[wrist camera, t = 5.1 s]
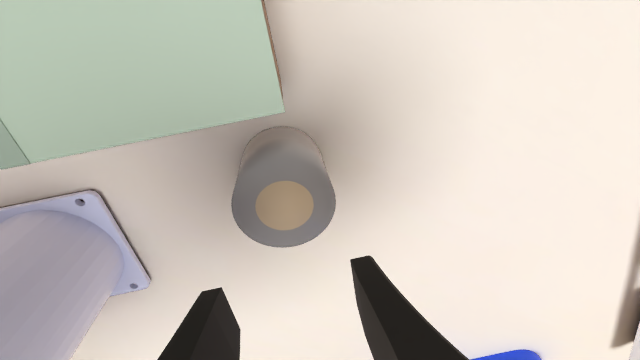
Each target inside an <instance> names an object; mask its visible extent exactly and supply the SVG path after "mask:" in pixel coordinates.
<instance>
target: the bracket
mask: <svg viewBox="0 0 640 360" xmlns="http://www.w3.org/2000/svg"><path fill="white" fill-rule="evenodd" d="M471 360H541V358H540V357H539V356H538V355H537V354H536V353H535V352H533V351H530V350H514V351H509V352H504V353H499V354H495V355H490V356H485V357H481V358H476V359H471Z"/></svg>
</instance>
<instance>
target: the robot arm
mask: <svg viewBox="0 0 640 360" xmlns="http://www.w3.org/2000/svg"><path fill="white" fill-rule="evenodd" d="M79 199H82V200H84V201H85V203H83V202H81V201H80V200H79ZM350 261H351V267H352V274H353V281H354V288H355V295H356V301H357V306H358V310H359V314H360V318H361V321H362V325H363V329H364V333H365V336H366V339H367V342H368V344H369V347H370V350H371V353H372V355H373V358H374V360H469V359H468V358H467V357H465V356H464V355H463V354H462V353H461V352H460V351H459V350H457V349H456V348H455V347H454V346H453V345H452V344H451V343H450V342H449V341H448V340H447V339H445V338H444V337H443V336H442V335H441V334H440V333H439V332H438V331H437V330H436V329H435V328H434V327H433V326H432V325H431V324H430V323H429V322H428V321H427V320H426V319H425V318H424V317H423V316H422V315H421V314H420V313H419V312H418V311H417V310H416V309H415V308H414V307H413V306H412V305H411V304H410V302H409V301H408V300H407V299H406V298H405V297H404V296H403V295H402V294H401V293H400V292H399V290H398V289H397V288H396V287H395V286H394V285H393V283H392V282H391V281H390V280H389V279H388V277H387V276H386V275H385V274H384V272H383V271H382V270H381V269H380V267H379V266H378V264H377V263H376V262H375V260H374V259H373V258H372V257H371V256H365V257H360V258H355V259H351V260H350ZM150 282H151V281H150V278H149V277H148V275H147V273H146V272H145V270H144V268H143V267H142V265H141V263H140V262H139V260H138V258H137V257H136V255H135V253H134V252H133V250H132V248H131V247H130V245H129V243H128V242H127V240H126V238H125V236H124V235H123V233H122V231H121V230H120V228H119V226H118V225H117V223H116V221H115V220H114V218H113V216H112V215H111V213H110V211H109V210H108V208H107V206H106V205H105V203H104V201H103V200H102V198H101V196H100V195H99V194H98V193H97V192H95V191H91V190H89V191H83V192H78V193H73V194H68V195H63V196H58V197H53V198H48V199H43V200H38V201H33V202H28V203H23V204H18V205H13V206H8V207H3V208H0V360H70V359H71V357H72V355H73V354H74V352H75V351H76V349H77V347H78V346H79V344H80V342H81V341H82V339H83V338H84V336H85V334H86V333H87V331H88V330H89V328H90V326H91V325H92V323H93V322H94V320H95V318H96V317H97V315H98V313H99V312H100V310H101V309H102V307H103V305H104V304H105V302H106V301H107V299H108V297H110V296H114V295H119V294H124V293H128V292H133V291H137V290H142V289H146V288H147V287H148V286H149V284H150ZM133 283H135V284H133ZM136 284H137V285H136ZM239 357H240V328H239V325H238V323H237V321H236V319H235V316H234V314H233V312H232V310H231V308H230V305H229V303H228V301H227V299H226V296H225V294H224V292H223V290H222V287H221V288H216V289H212V290H207V291H202V292H201V294H200V295H199V297H198V298H197V300H196V301H195V303H194V304H193V306H192V308H191V309H190V311H189V312H188V314H187V315H186V317H185V318H184V320H183V322H182V323H181V325H180V326H179V328H178V329H177V331H176V332H175V334H174V336H173V337H172V339H171V340H170V342H169V343H168V345H167V346H166V348H165V349H164V351H163V352H162V354H161V355H160V357H159V358H158V360H239Z"/></svg>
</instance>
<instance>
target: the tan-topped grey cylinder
mask: <svg viewBox="0 0 640 360" xmlns="http://www.w3.org/2000/svg"><path fill="white" fill-rule="evenodd" d="M335 205H336V199H335V193H334V189H333V187H332V184H331V181H330V178H329V176H328V173H327V170H326V167H325V165H324V162H323V159H322V156H321V154H320V151H319V148H318V147H317V145H316V143H315V142H314V141H313V140H312V139H311V138H310V137H309V136H308V135H307V134H305V133H304V132H302V131H300V130H298V129H295V128H291V127H273V128H269V129H266V130H264V131H262V132H260V133H258V134H257V135H256V136H254V137H253V138H252V139H251V140H250V142H249V143H248V144H247V146H246V148H245V150H244V153H243V157H242V161H241V164H240V168H239V172H238V176H237V180H236V184H235V188H234V192H233V196H232V213H233V216H234V219H235V221H236V223H237V225H238V226H239V228H240V229H241V230H242V231H243V232H244V233H245V234H246V235H247V236H248V237H250V238H251V239H253V240H255V241H257V242H259V243H261V244H264V245H267V246H272V247H292V246H297V245H301V244H303V243H306V242H308V241H310V240H312V239H314V238H315V237H317V236H318V235H319V234H320V233H322V232H323V231H324V229H325V228H326V227H327V226H328V224H329V223H330V221H331V219H332V217H333V214H334V211H335Z"/></svg>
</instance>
